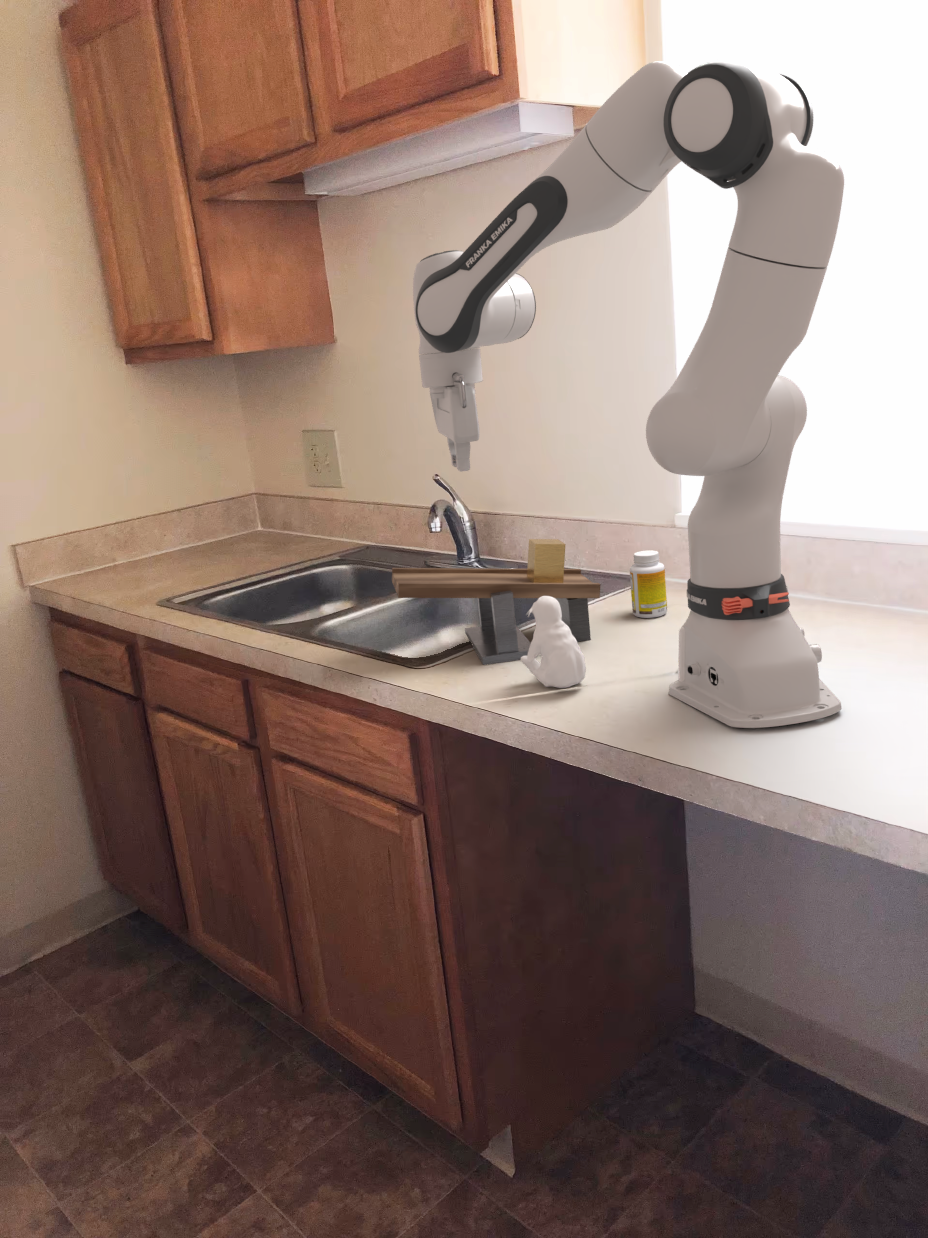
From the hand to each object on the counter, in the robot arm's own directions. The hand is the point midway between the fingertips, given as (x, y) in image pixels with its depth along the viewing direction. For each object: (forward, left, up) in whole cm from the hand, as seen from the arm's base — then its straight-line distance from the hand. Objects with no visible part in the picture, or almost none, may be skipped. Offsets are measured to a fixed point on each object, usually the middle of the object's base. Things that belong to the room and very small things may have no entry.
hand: (461, 468), depth 148 cm
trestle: (0, -3, -28) cm, 28 cm away
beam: (0, -3, -19) cm, 19 cm away
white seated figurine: (-22, -7, -28) cm, 36 cm away
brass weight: (-1, -11, -18) cm, 21 cm away
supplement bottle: (+5, -29, -28) cm, 41 cm away
